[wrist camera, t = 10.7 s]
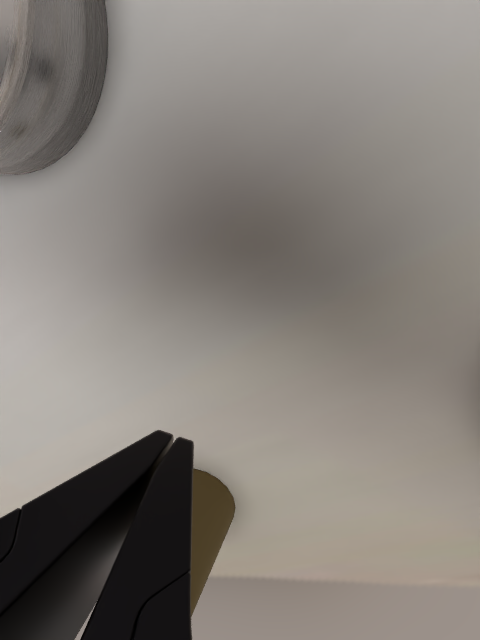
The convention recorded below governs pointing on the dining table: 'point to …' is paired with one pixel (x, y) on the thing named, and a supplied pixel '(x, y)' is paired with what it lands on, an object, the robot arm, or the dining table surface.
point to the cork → (207, 527)
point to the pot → (56, 85)
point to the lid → (14, 51)
